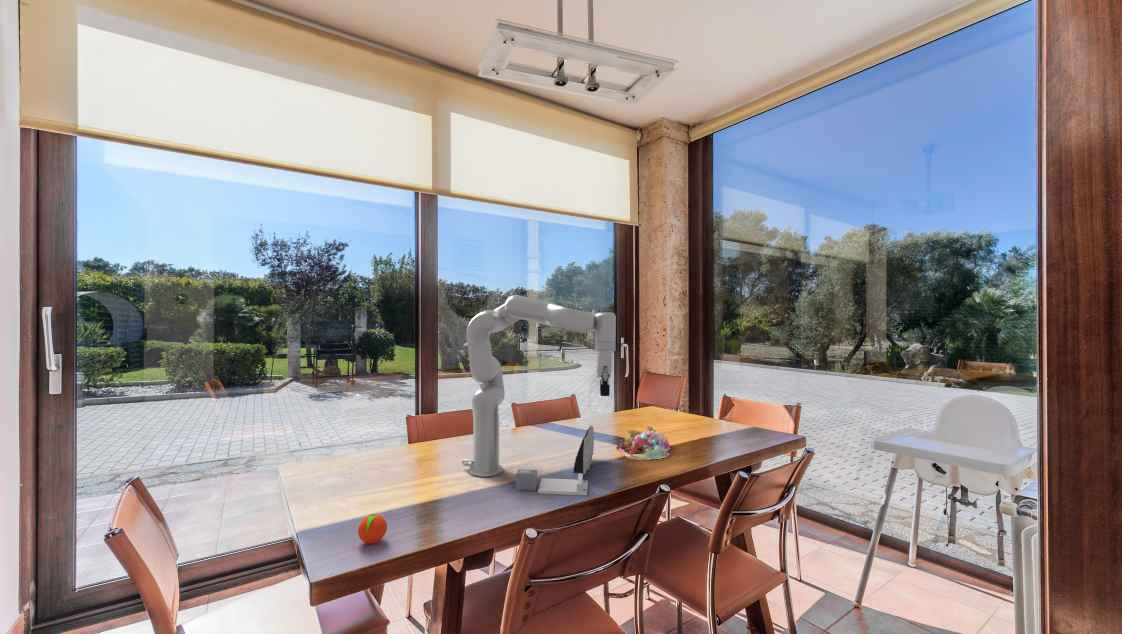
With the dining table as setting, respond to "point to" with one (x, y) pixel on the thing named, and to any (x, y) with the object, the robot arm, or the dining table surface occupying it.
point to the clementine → (372, 528)
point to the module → (526, 479)
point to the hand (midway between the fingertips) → (604, 393)
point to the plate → (564, 486)
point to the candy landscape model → (644, 445)
